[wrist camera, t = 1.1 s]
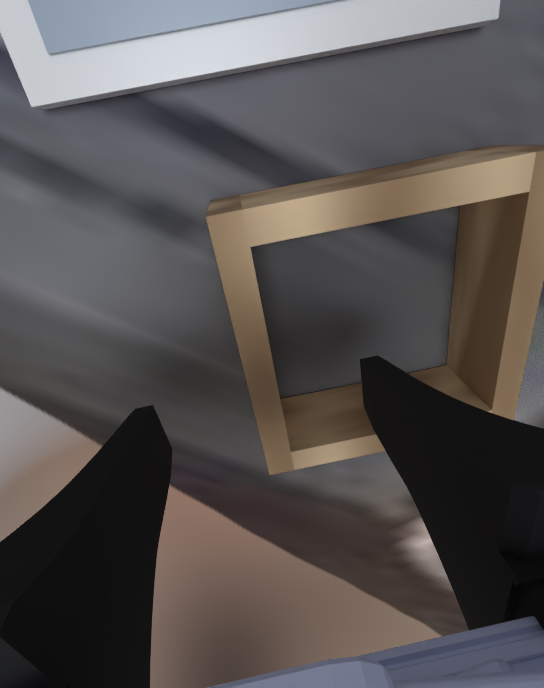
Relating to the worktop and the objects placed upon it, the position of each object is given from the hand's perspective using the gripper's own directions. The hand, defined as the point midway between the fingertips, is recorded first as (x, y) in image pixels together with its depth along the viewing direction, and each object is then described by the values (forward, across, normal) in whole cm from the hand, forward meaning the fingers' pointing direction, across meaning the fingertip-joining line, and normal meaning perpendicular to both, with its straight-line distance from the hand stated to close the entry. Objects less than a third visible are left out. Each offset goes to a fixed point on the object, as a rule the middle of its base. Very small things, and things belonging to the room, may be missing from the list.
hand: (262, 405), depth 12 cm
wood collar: (+6, -6, 0) cm, 8 cm away
